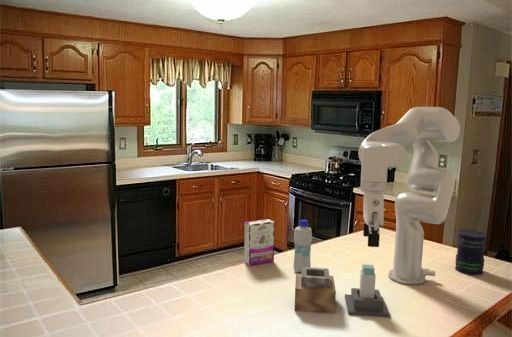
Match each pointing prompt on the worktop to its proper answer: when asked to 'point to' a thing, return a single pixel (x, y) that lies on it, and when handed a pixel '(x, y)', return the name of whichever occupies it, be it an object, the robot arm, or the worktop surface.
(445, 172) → the robot arm
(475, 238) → the storage jar
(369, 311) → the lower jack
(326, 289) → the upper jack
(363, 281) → the plug
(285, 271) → the worktop surface
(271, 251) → the candy bar box
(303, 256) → the bottle
